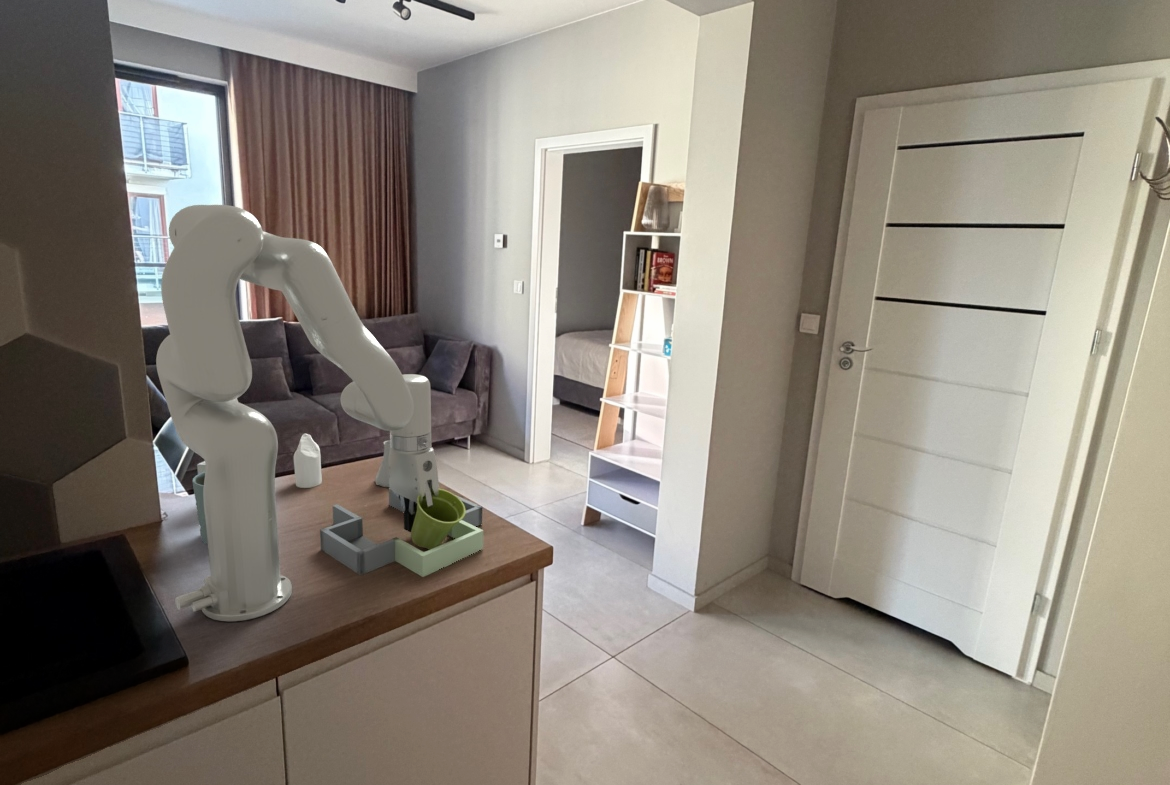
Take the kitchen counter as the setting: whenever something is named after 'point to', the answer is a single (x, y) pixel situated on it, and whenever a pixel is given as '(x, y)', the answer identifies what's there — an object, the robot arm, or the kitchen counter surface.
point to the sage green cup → (200, 504)
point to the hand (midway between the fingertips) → (413, 528)
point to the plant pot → (436, 519)
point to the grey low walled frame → (399, 542)
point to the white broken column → (307, 463)
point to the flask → (384, 468)
